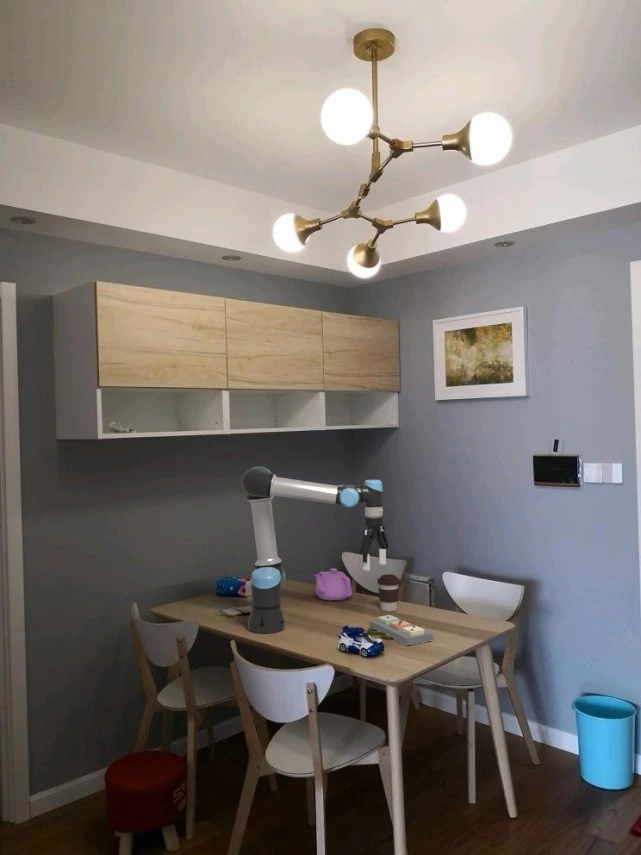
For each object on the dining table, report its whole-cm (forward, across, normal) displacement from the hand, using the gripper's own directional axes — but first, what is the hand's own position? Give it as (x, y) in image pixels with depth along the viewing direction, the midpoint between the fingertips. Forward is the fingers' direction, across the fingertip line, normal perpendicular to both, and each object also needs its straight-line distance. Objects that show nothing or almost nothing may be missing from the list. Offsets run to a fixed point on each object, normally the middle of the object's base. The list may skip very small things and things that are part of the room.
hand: (374, 567), depth 287 cm
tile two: (+20, -17, -26) cm, 37 cm away
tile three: (+20, -13, -19) cm, 31 cm away
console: (+22, -13, -19) cm, 32 cm away
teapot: (+22, +18, +35) cm, 45 cm away
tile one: (+20, -9, -11) cm, 25 cm away
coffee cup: (+22, +16, +2) cm, 27 cm away
